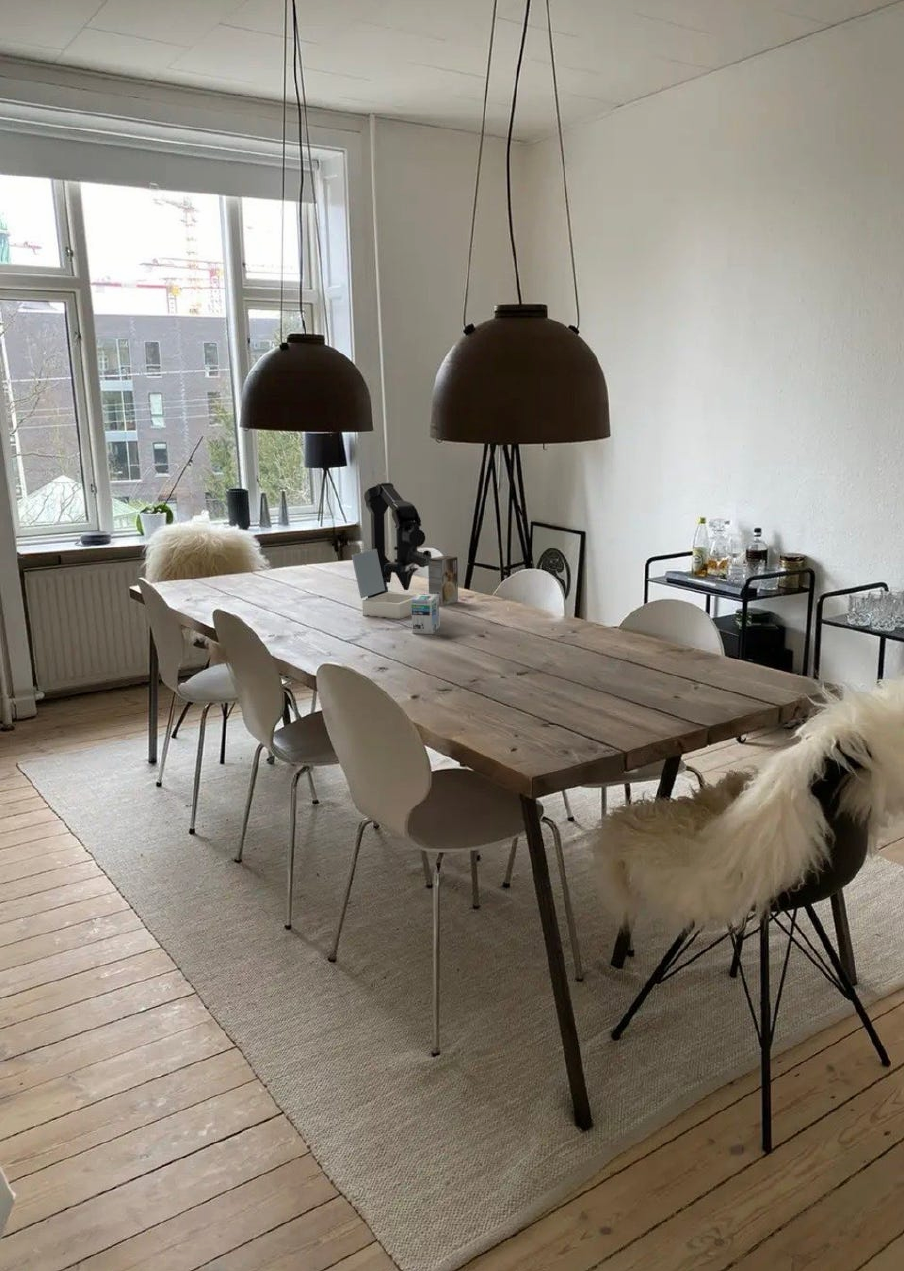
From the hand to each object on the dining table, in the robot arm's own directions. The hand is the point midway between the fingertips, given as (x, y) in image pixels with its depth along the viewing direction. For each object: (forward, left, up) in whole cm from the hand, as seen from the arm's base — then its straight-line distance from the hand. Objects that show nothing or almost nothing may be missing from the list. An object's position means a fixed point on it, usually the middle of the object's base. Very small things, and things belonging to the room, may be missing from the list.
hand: (406, 590), depth 327 cm
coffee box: (+3, +22, -9) cm, 24 cm away
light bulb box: (+17, -18, -9) cm, 26 cm away
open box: (-5, 0, -8) cm, 10 cm away
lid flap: (-14, 0, +5) cm, 15 cm away
